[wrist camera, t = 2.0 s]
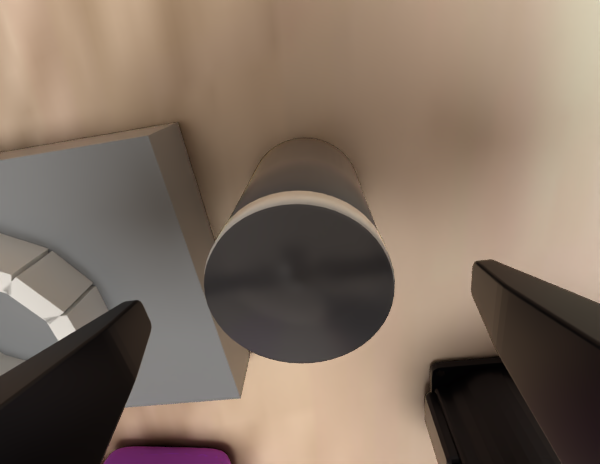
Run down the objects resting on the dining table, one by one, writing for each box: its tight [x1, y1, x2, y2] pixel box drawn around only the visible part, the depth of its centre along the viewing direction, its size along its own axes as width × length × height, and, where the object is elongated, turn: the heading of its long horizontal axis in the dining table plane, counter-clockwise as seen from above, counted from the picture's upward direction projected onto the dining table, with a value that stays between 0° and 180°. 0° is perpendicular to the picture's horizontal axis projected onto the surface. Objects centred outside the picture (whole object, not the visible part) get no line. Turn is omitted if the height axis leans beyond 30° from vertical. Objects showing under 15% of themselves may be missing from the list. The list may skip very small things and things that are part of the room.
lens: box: [204, 138, 395, 363], centre depth 13 cm, size 5×5×8 cm
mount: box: [0, 122, 250, 407], centre depth 17 cm, size 18×14×5 cm
